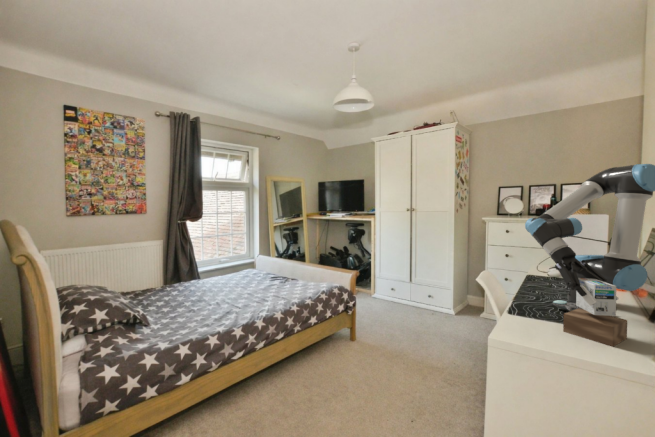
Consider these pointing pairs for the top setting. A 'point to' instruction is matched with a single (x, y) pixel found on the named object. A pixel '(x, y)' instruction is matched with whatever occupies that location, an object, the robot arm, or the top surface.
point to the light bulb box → (598, 297)
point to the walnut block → (595, 327)
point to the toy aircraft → (565, 305)
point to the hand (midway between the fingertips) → (604, 302)
